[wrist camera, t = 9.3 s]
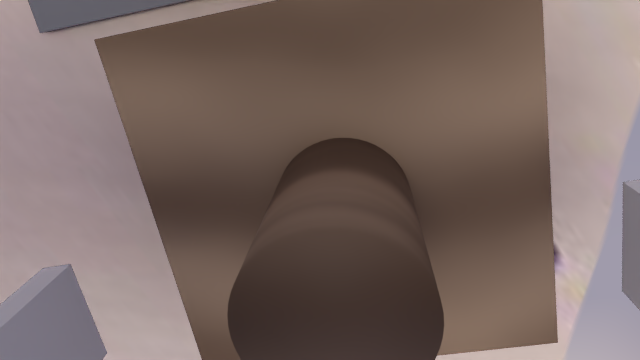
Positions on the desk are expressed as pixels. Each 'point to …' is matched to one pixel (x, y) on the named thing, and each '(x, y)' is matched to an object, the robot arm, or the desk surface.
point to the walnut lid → (348, 174)
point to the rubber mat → (86, 11)
